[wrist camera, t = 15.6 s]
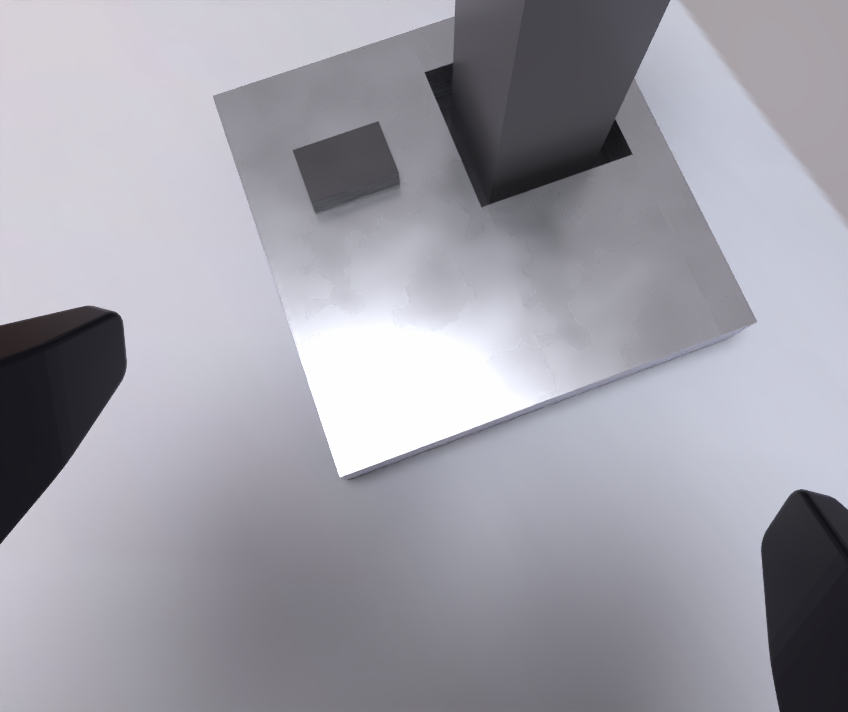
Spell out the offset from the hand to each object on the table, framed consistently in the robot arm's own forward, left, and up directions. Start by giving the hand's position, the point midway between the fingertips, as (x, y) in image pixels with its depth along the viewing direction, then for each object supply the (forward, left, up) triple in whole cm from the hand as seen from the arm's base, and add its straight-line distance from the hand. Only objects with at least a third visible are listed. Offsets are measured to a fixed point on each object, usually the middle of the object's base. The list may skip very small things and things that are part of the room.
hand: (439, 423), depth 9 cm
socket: (+4, +8, -14) cm, 16 cm away
